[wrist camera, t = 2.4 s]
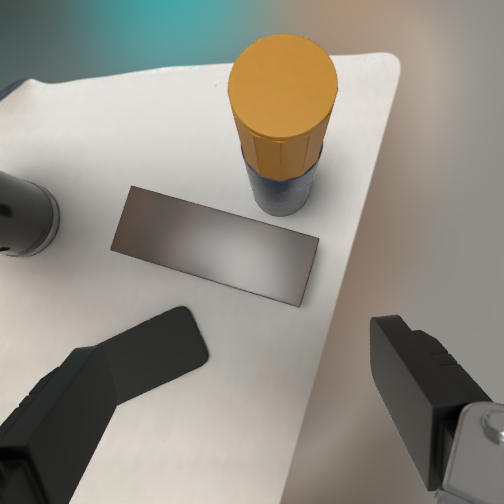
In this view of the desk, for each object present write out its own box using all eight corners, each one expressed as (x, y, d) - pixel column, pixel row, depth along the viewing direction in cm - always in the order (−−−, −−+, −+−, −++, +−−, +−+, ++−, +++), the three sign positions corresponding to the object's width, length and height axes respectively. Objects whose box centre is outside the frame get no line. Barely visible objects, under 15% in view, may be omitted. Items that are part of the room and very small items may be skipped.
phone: (70, 356, 41) (184, 302, 40) (74, 355, 42) (186, 302, 41) (93, 417, 40) (210, 362, 40) (97, 414, 41) (211, 360, 40)
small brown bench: (137, 255, 43) (109, 249, 36) (154, 201, 43) (130, 185, 36) (296, 303, 40) (300, 307, 34) (313, 246, 41) (319, 238, 34)
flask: (242, 189, 42) (216, 121, 25) (281, 151, 42) (283, 58, 25) (280, 227, 41) (280, 186, 24) (320, 189, 42) (349, 120, 24)
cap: (226, 141, 28) (205, 85, 20) (282, 88, 28) (283, 12, 20) (280, 196, 28) (280, 159, 20) (337, 141, 28) (361, 83, 20)
